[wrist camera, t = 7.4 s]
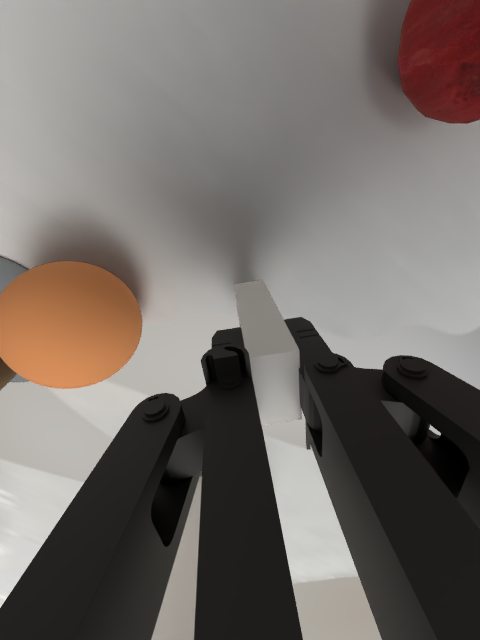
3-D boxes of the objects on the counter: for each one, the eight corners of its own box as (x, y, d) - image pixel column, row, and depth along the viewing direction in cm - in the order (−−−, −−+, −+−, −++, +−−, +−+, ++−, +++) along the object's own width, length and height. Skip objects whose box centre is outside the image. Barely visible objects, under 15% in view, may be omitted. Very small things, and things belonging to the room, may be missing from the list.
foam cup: (252, 451, 23) (293, 729, 11) (271, 509, 27) (315, 755, 15) (145, 477, 23) (75, 775, 11) (181, 530, 27) (156, 788, 15)
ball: (-52, 355, 12) (67, 307, 17) (56, 439, 12) (141, 366, 17) (-52, 243, 9) (92, 227, 14) (92, 356, 9) (182, 298, 14)
